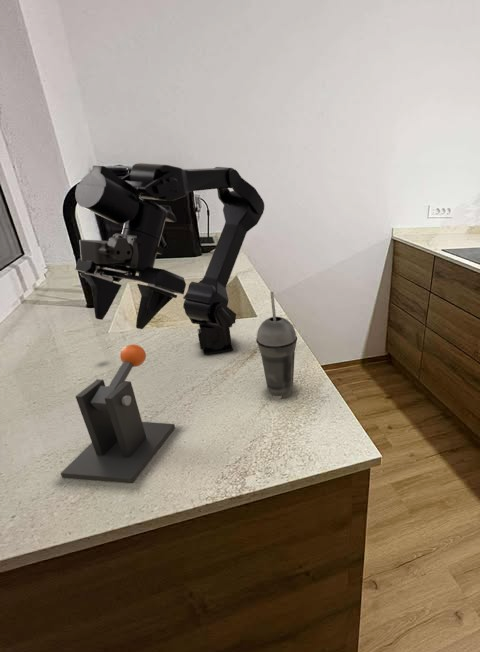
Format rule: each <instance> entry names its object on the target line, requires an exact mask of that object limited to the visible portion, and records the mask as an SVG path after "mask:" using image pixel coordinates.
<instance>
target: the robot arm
mask: <svg viewBox="0 0 480 652" xmlns="http://www.w3.org/2000/svg"><path fill="white" fill-rule="evenodd" d="M230 189H232V190H230ZM208 190H217V198H218V200H219V201H220V202H221V203H222V205H223V207H222V212H223V218H224V225H223V228H222V230H221V233H220V235H219V238H218V241H217V243H216V245H215V248H214V251H213V253H212V255H211V258H210V260H209V263H208V265H207V268H206V271H205V273H204V276H203V277H202V279H201V280H199V282H198V281H197V282H196V281H190V283H189V284H188V288H187V287H186V286H187V283H186V280H185V277H183V276H181V275H178V274H176V273H173V272H171V271H168V270H166V269H165V268H164V269H163V268H158V267H155V263H156V258H157V256H158V255H164V248H162V247H160V243H161V239H162V235H163V231H164V228H165V224H166V222H169V223H176V222H177V218H176V215H175V214H174V213H173V211H172V208H171V206H170V205H162V204H160V205H159V204H158V203H157V202H155V200H156V201H165V202H174V201H176V200H179V199H182V198H185V197H186V196H187V195H188V194H189V193H191V192H197V191H208ZM74 194H75V195H74V196H75V197H74V198H75V201H76V203H77V205H79V207H81V208H83V209H86V210H87V211H89V212H92V213H94V214H95V215H97V216H100V217H102V218H104V219H106V220H108V221H111V222H112V223H115V224H117V225H121V224H123V227H122V232H121V233H117V232H115V233H114V234H112V236H110V237H109V238H108V240H102V239H101V240H98V239H97V240H96V239H79V251H80V258H78V259H77V261H76V265H75V269H74V270H75V271H78V272H80V273H79V275H80V276H81V278H84V279H85V281H86V283H88V285H89V286H90V290H91V294H92V301H93V310H94V318H95V319H97V320H100V321H102V320H104V318H105V317H106V315H107V314H108V312H109V310H110V309H111V306H112V304H113V302H114V300H115V299H116V297H117V295H118V293H119V291H120V290H121V287H122V284H120V283H119V282H121V281H122V280H123V279H124V280H128V281H133V282H139V283H137V284H136V286H137V288H138V290H139V293H140V301H139V306H138V311H137V317H136V324H135V328H136V329H138V330H144V328H145V327H147V325H148V324H149V323H150V322H151V321H152V320H153V318H155V316H156V315H157V314H158V313H159V312H160V311H161V310H162V309H163V308H164V307H166V305H168V303H169V302H171V301H172V300H173V299H177V298H178V295H177V294H179V295H184V296H183V300H184V301H183V307H182V308H183V310H184V313H185V315H186V316H187V317H188V318H189V320H190V322H191V324H194V325H198V327H199V328H197V329H196V332H197V338H198V344H199V349H200V350H202V352H203V355H205V356H207V355H213V354H220V353H227V352H232V351H234V346H233V343H232V336H231V329H230V328H232V327H233V325H234V324H235V323H236V320H237V313H236V312H235V311H233V310H232V309H231V308H230V307H228V304H229V296H228V292H227V286H228V284H229V280H230V278H231V275H232V273H233V270H234V267H235V264H236V263H237V259H238V256H239V254H240V251H241V249H242V246H243V244H244V240H245V238H246V235H247V233H248V232H250V231H251V230H252V229H253V228H254V227H255V226H257V225H258V223H259V222H260V220H261V218H262V217H263V214H264V211H265V202H264V200H263V198H262V197H261V195H260V194H259V192H258V190H257V189H256V188H255V187H254V186H253V185H252V184H250V183H249V182H248V181H246V179H244V178H243V177H242V176H241V174H240V173H239V171H237V169H235V168H233V167H228V166H226V167H225V166H215V167H213V168H212V167H211V168H209V167H208V168H183V167H180V166H179V167H177V166H175V165H170V164H159V163H158V164H157V163H143V162H138V163H135V164H133V165H132V167H131V169H130V173H128V174H126V175H124V176H122V177H120V176H119V175H117V174H115V173H114V172H113V171H112V170H111V169H109V168H108V167H106V166H104V165H92V168H91V172H89V173H87V174H86V175H84V176H83V177H82V179H81V180H80V182H79V183H77V184H76V187H75V192H74ZM142 283H143V284H142ZM186 288H187V291H186Z"/></svg>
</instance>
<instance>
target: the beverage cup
mask: <svg viewBox="0 0 480 652" xmlns="http://www.w3.org/2000/svg"><path fill="white" fill-rule="evenodd" d="M269 293H270V303H271V313H272V316H271V317H268V318H266V319H265V320H264V321H262V322H261V324H260V325H259V326H258V329H257V332H256V340H255V341H256V344H257V346H258V347H257V348H258V350H259V353H260V356H261V362H262V366H263V372H264V378H265V382H266V388H267V390H268V391H267V392H268V393H269V394H270V395H272V396H275V397H280V400H283V399H288V398H289V397H291V396H292V395H293V388H294V374H295V356H296V354H295V353H296V349H297V341H298V336H297V333H296V329H295V328H294V326H293V323H291V322H290V321H289V320H288V319H286V318H284V317H282V316H277V315H276V305H275V295H274V291H270V292H269Z"/></svg>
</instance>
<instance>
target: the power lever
mask: <svg viewBox="0 0 480 652" xmlns="http://www.w3.org/2000/svg"><path fill="white" fill-rule="evenodd" d="M119 356H120V361H121V362H122V363H121V366H119V368H118V370H117V372H116V373H115V375H114V376H113V378H112V380H111V381H110V383H109V385H105V386H100V388H99V389H98V391H97V392H96V394H95V396H94V397H93V399H92V400H91V402H90V403H91V404H92V405H93V406H94V407H95V408H96V409H97V410H98V411H99V412H109V411H108V408H107V405H106V402H105V399H104V398H105V397H106V396H108V395H109V394H110V393H111V392H112V391H113V390H114V389H116V388H117V387H118V386H119V385H120V384H121V383H123V382H124V381H126V380H127V378H128V377H129V375H130V372H131V371H132V370H133V368H135V367H140V366H141V365H142V364H143V363H145V361H146V359H147V354H146V351H145V349H144V348H143V347H142V346H140V345H138V344H129V345H127V346H125V347H123V348H122V349H121V350H120V354H119Z"/></svg>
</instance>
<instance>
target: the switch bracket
mask: <svg viewBox="0 0 480 652" xmlns="http://www.w3.org/2000/svg"><path fill="white" fill-rule="evenodd" d="M100 386H106V383H105V380H104V379H99V378H98V379H95V380H94V381H93V382H91V383H90V384H89V385H88V386H87V387H85V388H84V389H82V390H81V391H80V392H79V393H77V394H76V395H75V400H76V403H77V405H78V408H79V411H80V414H81V416H82V419H83V422H84V424H85V428H86V430H87V433H88V435H89V438H90V441H91V443H90V444H88V445H87V446H86V447H85V448H84V450H83V451H81V453H79V454H78V455H77V456H76V457H75V458H74V459H73V460H72V461H71V462H70V463H69V464H68V465H67V466H66V467H65V468H64V469H63V470H62V471H61V472H60V476H61V478H62V479H71V480H73V479H74V480H85V481H86V480H87V481H88V480H89V481H99V482H112V483H114V482H115V483H127V484H134V483H135V481H136V480H137V479H138V477H139V476H140V474H141V473H142V472H143V471H144V469H145V468H146V467H147V465H148V464H149V463H150V462H151V460H152V459H153V458H154V456H155V455H156V454H157V452H158V451H159V450H160V448H161V447H162V446H163V445H164V444H165V442H166V441H167V440H168V438H169V437H170V435H171V434H172V433H173V432H174V430H175V429H176V426H175V424H174V423H166V422H152V421H143V420H142V417H141V416H142V415H141V413H140V410H139V405H138V402H137V399H136V395H135V392H134V388H133V387H134V386H133V384H132V381H131V380H130V381H129V380H125V381H124V382H123V383H121V384H120V385H119V386H118V387H117V388H116V389H114V390H113V391H112V392H111V393H110V394H109V395H108V396H106V397H105V398H104V399H105V402H106V405H107V408H108V411H109V412H99V411H98V410H97V409H96V408H95V407H94V406H93V405H92V404H91V403H90V402H91V400H92V399H93V397H94V396H95V394H96V392H97V391H98V389H99V388H100Z"/></svg>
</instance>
